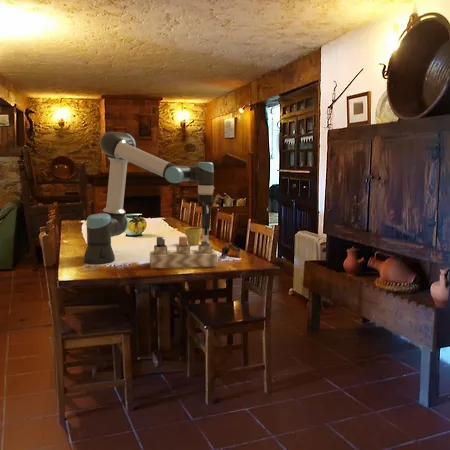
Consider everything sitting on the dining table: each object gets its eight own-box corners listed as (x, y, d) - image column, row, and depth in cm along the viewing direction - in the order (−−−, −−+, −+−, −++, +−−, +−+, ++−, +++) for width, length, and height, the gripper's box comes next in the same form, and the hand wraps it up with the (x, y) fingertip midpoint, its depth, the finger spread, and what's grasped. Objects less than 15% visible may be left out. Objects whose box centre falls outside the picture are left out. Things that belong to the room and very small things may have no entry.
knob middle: (179, 246, 243) (179, 237, 242) (178, 245, 246) (178, 236, 246) (187, 246, 243) (187, 237, 243) (186, 245, 247) (186, 236, 247)
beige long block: (151, 268, 237) (150, 248, 236) (149, 262, 249) (149, 243, 248) (216, 266, 244) (217, 247, 242) (212, 260, 255) (213, 242, 254)
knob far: (201, 251, 245) (201, 242, 244) (200, 249, 249) (200, 241, 248) (209, 251, 246) (209, 242, 245) (208, 249, 250) (208, 241, 249)
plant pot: (182, 245, 296) (182, 229, 295) (187, 242, 306) (187, 226, 305) (199, 246, 294) (199, 229, 292) (204, 243, 304) (204, 227, 302)
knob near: (156, 247, 240) (156, 238, 240) (156, 245, 244) (156, 236, 244) (165, 247, 241) (165, 238, 241) (164, 245, 245) (164, 236, 244)
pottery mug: (225, 254, 275) (233, 242, 274) (237, 264, 270) (245, 251, 269) (214, 252, 264) (222, 239, 263) (226, 262, 260) (234, 249, 259)
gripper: (215, 195, 238) (215, 243, 241) (211, 192, 250) (210, 238, 254) (200, 195, 236) (199, 243, 240) (196, 192, 249) (196, 239, 252)
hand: (205, 241), depth 247 cm, fingers closed
